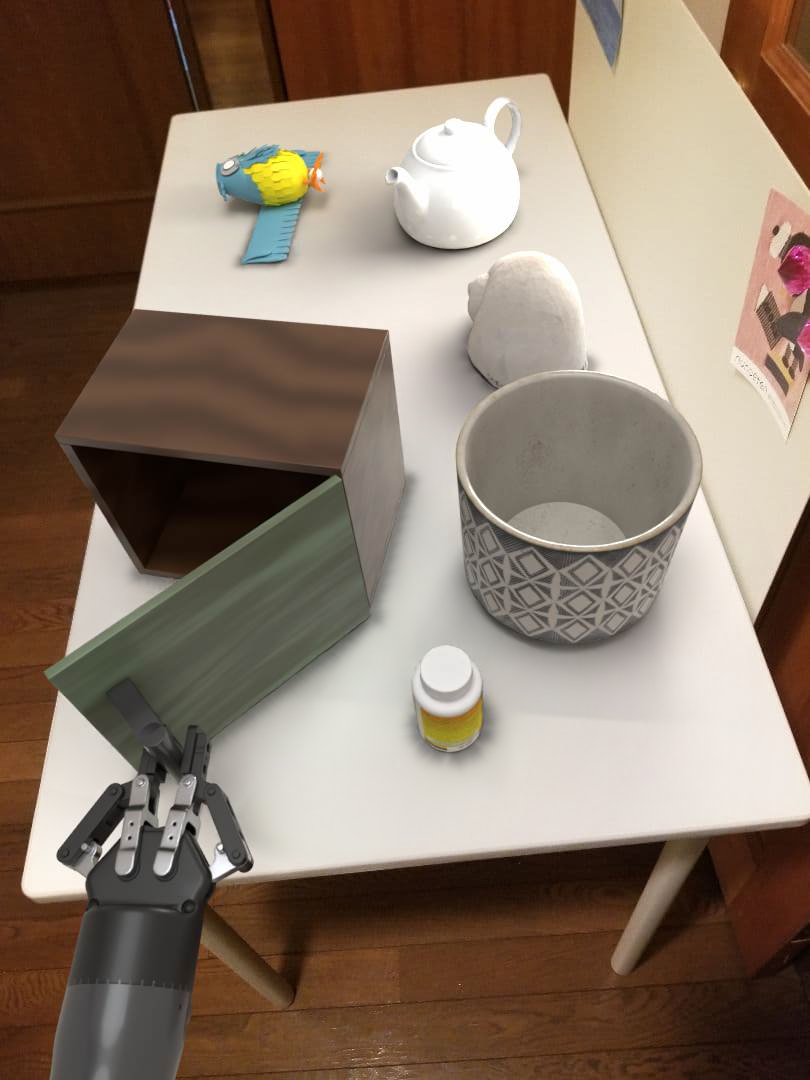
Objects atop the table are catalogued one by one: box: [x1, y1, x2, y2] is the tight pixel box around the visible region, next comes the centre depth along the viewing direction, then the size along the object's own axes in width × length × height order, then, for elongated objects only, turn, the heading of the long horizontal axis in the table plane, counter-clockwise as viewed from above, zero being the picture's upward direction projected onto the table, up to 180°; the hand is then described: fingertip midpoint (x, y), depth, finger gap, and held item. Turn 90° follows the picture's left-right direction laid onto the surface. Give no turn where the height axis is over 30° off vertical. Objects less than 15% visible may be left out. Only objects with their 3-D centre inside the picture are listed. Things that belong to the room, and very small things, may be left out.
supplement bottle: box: [411, 644, 484, 753], centre depth 65 cm, size 6×6×10 cm
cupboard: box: [54, 308, 407, 609], centre depth 75 cm, size 16×24×20 cm, turn 78°
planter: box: [455, 370, 704, 644], centre depth 71 cm, size 19×19×16 cm
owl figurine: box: [215, 143, 326, 265], centre depth 115 cm, size 28×9×15 cm
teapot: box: [384, 96, 523, 250], centre depth 108 cm, size 19×18×14 cm
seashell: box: [467, 250, 589, 389], centre depth 93 cm, size 15×14×15 cm
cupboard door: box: [43, 475, 371, 786], centre depth 62 cm, size 7×24×20 cm, turn 131°
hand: (180, 729), depth 59 cm, fingers closed on cupboard door, 2 cm apart
